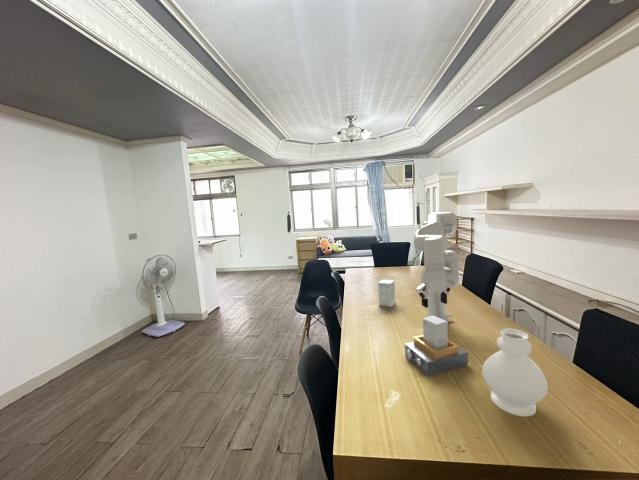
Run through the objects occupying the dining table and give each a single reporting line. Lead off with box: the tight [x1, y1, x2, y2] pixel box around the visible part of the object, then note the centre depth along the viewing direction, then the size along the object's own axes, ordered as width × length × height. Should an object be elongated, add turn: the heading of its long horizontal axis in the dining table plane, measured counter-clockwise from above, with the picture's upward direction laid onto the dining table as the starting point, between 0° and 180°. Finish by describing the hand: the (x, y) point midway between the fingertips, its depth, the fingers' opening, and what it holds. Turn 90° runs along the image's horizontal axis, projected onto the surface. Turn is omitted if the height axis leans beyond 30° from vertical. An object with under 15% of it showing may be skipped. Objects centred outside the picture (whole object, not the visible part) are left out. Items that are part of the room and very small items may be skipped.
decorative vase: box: [481, 328, 548, 417], centre depth 90 cm, size 18×18×25 cm
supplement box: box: [377, 279, 397, 308], centre depth 187 cm, size 10×9×17 cm
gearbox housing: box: [404, 334, 469, 377], centre depth 117 cm, size 21×16×9 cm
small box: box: [422, 315, 449, 350], centre depth 117 cm, size 8×6×13 cm
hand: (434, 304), depth 115 cm, fingers open, 9 cm apart
